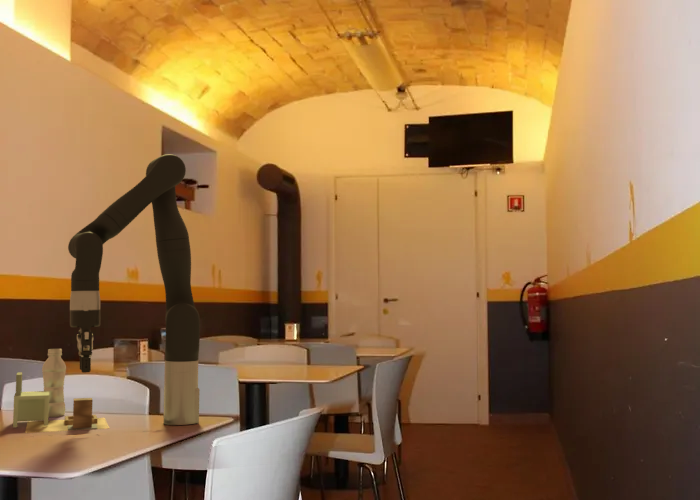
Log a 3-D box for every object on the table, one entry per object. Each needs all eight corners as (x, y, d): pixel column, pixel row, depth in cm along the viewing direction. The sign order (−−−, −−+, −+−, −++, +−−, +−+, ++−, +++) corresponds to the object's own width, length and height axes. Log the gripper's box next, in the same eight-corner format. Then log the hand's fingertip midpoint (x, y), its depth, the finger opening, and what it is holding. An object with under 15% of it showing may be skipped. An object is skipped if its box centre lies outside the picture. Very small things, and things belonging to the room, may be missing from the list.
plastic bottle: (70, 418, 217) (72, 348, 219) (49, 421, 212) (51, 350, 213) (55, 416, 221) (58, 348, 222) (35, 419, 215) (37, 349, 217)
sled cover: (48, 419, 206) (49, 371, 207) (48, 425, 196) (49, 374, 197) (14, 421, 203) (16, 372, 204) (12, 427, 193) (14, 375, 194)
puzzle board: (104, 421, 212) (104, 413, 212) (109, 432, 193) (109, 423, 194) (27, 425, 205) (27, 417, 205) (25, 436, 186) (25, 427, 186)
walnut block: (91, 424, 197) (91, 397, 198) (91, 427, 193) (92, 399, 194) (72, 425, 196) (73, 398, 196) (73, 428, 192) (73, 400, 192)
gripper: (68, 309, 202) (68, 369, 200) (71, 308, 188) (70, 374, 187) (98, 308, 204) (98, 368, 203) (102, 308, 191) (102, 372, 190)
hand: (85, 371), depth 195 cm, fingers open, 8 cm apart
